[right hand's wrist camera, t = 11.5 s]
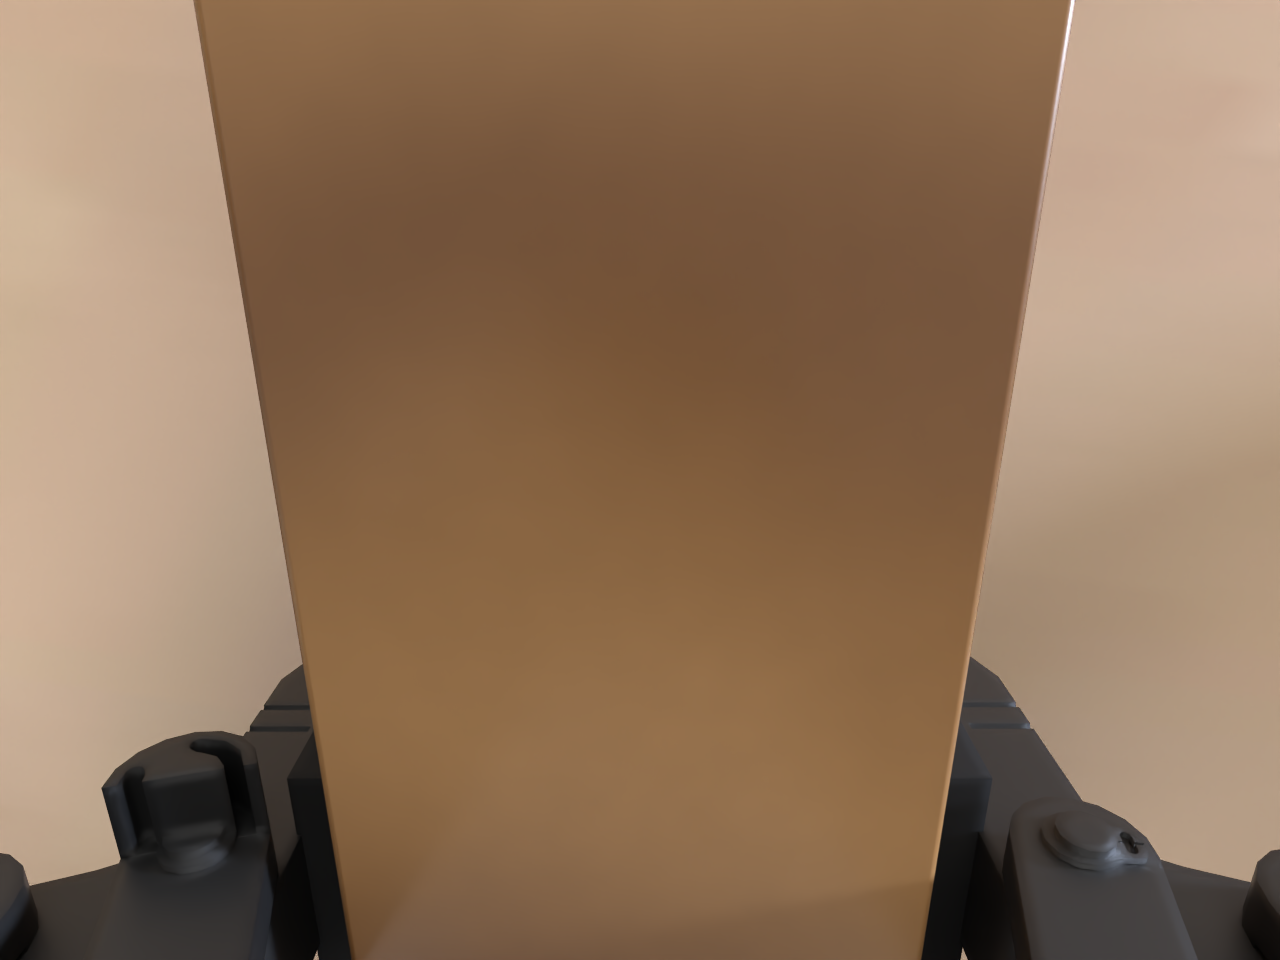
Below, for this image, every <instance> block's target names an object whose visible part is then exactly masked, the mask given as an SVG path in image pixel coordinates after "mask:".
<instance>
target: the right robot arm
mask: <svg viewBox="0 0 1280 960" xmlns="http://www.w3.org/2000/svg"><path fill="white" fill-rule="evenodd" d="M102 792H103V795H104V799H105V803H106V806H107V810H108V814H109V817H110V821H111V825H112V828H113V832H114V836H115V839H116V843H117V847H118V850H119V854H120V858H121V860H120V862H119V864H116V865H112V866H109V867H106V868H102V869H99V870H96V871H92V872H87V873H83V874H79V875H75V876H70V877H66V878H62V879H57V880H53V881H49V882H45V883H40V884H36V885H32V886H29V883H28V880H27V877H26V874H25V871H24V868H23V866H22V865H21V864H20V863H19V862H18V861H17V860H15V859H14V858H13V857H12V856H11V855H9V854H2V853H0V960H313V959H314V957H315V954H316V952H317V951H318V957H319V960H352V959H351V953H350V947H349V941H348V935H347V929H346V923H345V917H344V911H343V905H342V899H341V893H340V887H339V880H338V874H337V868H336V862H335V856H334V850H333V844H332V838H331V832H330V826H329V820H328V814H327V808H326V802H325V795H324V789H323V783H322V777H321V771H320V765H319V759H318V753H317V747H316V741H315V735H314V729H313V723H312V717H311V710H310V704H309V698H308V692H307V686H306V680H305V674H304V668H303V664H302V665H301V666H299V667H298V668H297V669H295V670H294V671H293V672H291V673H290V674H289V675H287V676H286V677H284V678H283V679H282V680H281V681H280V682H279V684H278V685H277V687H276V688H275V690H274V691H273V693H272V694H271V696H270V697H269V699H268V700H267V702H266V703H265V705H264V710H261V711H260V712H259V714H258V715H257V717H256V718H255V720H254V721H253V723H252V724H251V726H250V731H249V732H246V733H245V735H244V736H239V735H235V734H231V733H227V732H223V731H213V732H194V733H190V734H186V735H182V736H178V737H174V738H170V739H166V740H164V741H162V742H160V743H158V744H155V745H153V746H151V747H149V748H147V749H144V750H142V751H140V752H138V753H137V754H135V755H134V756H133V757H131V758H130V759H129V760H127V761H126V762H125V763H123V764H122V765H121V766H119V767H118V768H116V769H115V771H114V772H113V773H112V775H111V776H110V777H109V779H108V780H107V781H106V783H105V784H104V785H103V787H102ZM962 948H963V949H964V951H965V954H966V956H967V959H968V960H1280V850H1273V851H1270V852H1269V853H1268V854H1267V855H1265V856H1264V857H1263V858H1262V859H1261V860H1259V861H1258V862H1257V865H1256V868H1255V872H1254V875H1253V878H1252V881H1251V882H1247V881H1242V880H1238V879H1234V878H1229V877H1225V876H1221V875H1216V874H1212V873H1208V872H1204V871H1199V870H1195V869H1191V868H1186V867H1183V866H1179V865H1176V864H1173V863H1169V862H1166V861H1163V860H1160V858H1159V856H1158V855H1157V853H1156V852H1155V850H1154V849H1153V847H1152V845H1151V844H1150V842H1149V841H1148V839H1147V838H1146V837H1145V836H1144V835H1143V834H1142V833H1140V832H1139V831H1138V830H1137V829H1136V828H1134V827H1133V826H1132V825H1131V824H1130V823H1128V822H1127V821H1126V820H1125V819H1123V818H1121V817H1119V816H1117V815H1115V814H1113V813H1111V812H1109V811H1107V810H1105V809H1104V808H1102V807H1100V806H1097V805H1094V804H1090V803H1087V802H1083V801H1082V800H1081V798H1080V797H1079V795H1078V794H1077V792H1076V791H1075V789H1074V788H1073V786H1072V785H1071V783H1070V782H1069V780H1068V779H1067V778H1066V776H1065V775H1064V773H1063V772H1062V770H1061V769H1060V767H1059V766H1058V764H1057V763H1056V761H1055V760H1054V758H1053V757H1052V755H1051V754H1050V752H1049V751H1048V749H1047V748H1046V746H1045V745H1044V744H1043V742H1042V741H1041V739H1040V738H1039V736H1038V735H1037V733H1036V732H1035V730H1034V729H1030V723H1029V721H1028V720H1027V718H1026V717H1025V715H1024V714H1023V713H1022V711H1021V710H1020V708H1019V707H1016V702H1015V701H1014V699H1013V698H1012V696H1011V695H1010V693H1009V692H1008V690H1007V689H1006V687H1005V686H1004V684H1003V683H1002V681H1001V680H1000V679H999V677H998V676H996V675H995V674H994V673H992V672H991V671H990V670H988V669H987V668H985V667H984V666H983V665H981V664H980V663H978V662H977V661H976V660H974V659H973V658H972V657H970V659H969V665H968V671H967V678H966V684H965V690H964V696H963V702H962V709H961V715H960V721H959V727H958V733H957V740H956V746H955V752H954V758H953V764H952V771H951V777H950V783H949V789H948V796H947V802H946V808H945V814H944V820H943V827H942V833H941V839H940V845H939V851H938V858H937V864H936V870H935V876H934V883H933V889H932V895H931V901H930V907H929V914H928V920H927V926H926V932H925V938H924V945H923V951H922V957H921V960H960V959H961V953H962Z"/></svg>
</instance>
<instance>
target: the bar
mask: <svg viewBox="0 0 1280 960" xmlns="http://www.w3.org/2000/svg"><path fill="white" fill-rule="evenodd" d="M1075 1H1076V0H194V6H195V12H196V18H197V24H198V30H199V36H200V43H201V49H202V55H203V61H204V67H205V73H206V79H207V85H208V91H209V97H210V103H211V109H212V115H213V122H214V128H215V134H216V140H217V146H218V152H219V158H220V164H221V170H222V176H223V182H224V188H225V194H226V200H227V207H228V213H229V219H230V225H231V231H232V237H233V243H234V249H235V255H236V261H237V267H238V273H239V279H240V285H241V292H242V298H243V304H244V310H245V316H246V322H247V328H248V334H249V340H250V346H251V352H252V358H253V364H254V370H255V377H256V383H257V389H258V395H259V401H260V407H261V413H262V419H263V425H264V431H265V437H266V443H267V449H268V455H269V462H270V468H271V474H272V480H273V486H274V492H275V498H276V504H277V510H278V516H279V522H280V528H281V534H282V540H283V547H284V553H285V559H286V565H287V571H288V577H289V583H290V589H291V595H292V601H293V607H294V613H295V619H296V625H297V632H298V638H299V644H300V650H301V656H302V662H303V668H304V674H305V680H306V686H307V692H308V698H309V704H310V710H311V717H312V723H313V729H314V735H315V741H316V747H317V753H318V759H319V765H320V771H321V777H322V783H323V789H324V795H325V802H326V808H327V814H328V820H329V826H330V832H331V838H332V844H333V850H334V856H335V862H336V868H337V874H338V880H339V887H340V893H341V899H342V905H343V911H344V917H345V923H346V929H347V935H348V941H349V947H350V953H351V959H352V960H921V957H922V951H923V945H924V938H925V932H926V926H927V920H928V914H929V907H930V901H931V895H932V889H933V883H934V876H935V870H936V864H937V858H938V851H939V845H940V839H941V833H942V827H943V820H944V814H945V808H946V802H947V796H948V789H949V783H950V777H951V771H952V764H953V758H954V752H955V746H956V740H957V733H958V727H959V721H960V715H961V709H962V702H963V696H964V690H965V684H966V678H967V671H968V665H969V659H970V653H971V647H972V640H973V634H974V628H975V622H976V615H977V609H978V603H979V597H980V591H981V584H982V578H983V572H984V566H985V560H986V553H987V547H988V541H989V535H990V528H991V522H992V516H993V510H994V504H995V497H996V491H997V485H998V479H999V473H1000V466H1001V460H1002V454H1003V448H1004V442H1005V435H1006V429H1007V423H1008V417H1009V411H1010V404H1011V398H1012V392H1013V386H1014V379H1015V373H1016V367H1017V361H1018V355H1019V348H1020V342H1021V336H1022V330H1023V324H1024V317H1025V311H1026V305H1027V299H1028V292H1029V286H1030V280H1031V274H1032V268H1033V261H1034V255H1035V249H1036V243H1037V237H1038V230H1039V224H1040V218H1041V212H1042V206H1043V199H1044V193H1045V187H1046V181H1047V174H1048V168H1049V162H1050V156H1051V150H1052V143H1053V137H1054V131H1055V125H1056V119H1057V112H1058V106H1059V100H1060V94H1061V88H1062V81H1063V75H1064V69H1065V63H1066V56H1067V50H1068V44H1069V38H1070V32H1071V25H1072V19H1073V13H1074V7H1075Z"/></svg>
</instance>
